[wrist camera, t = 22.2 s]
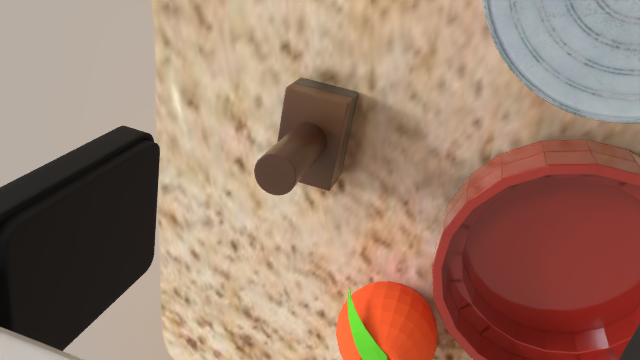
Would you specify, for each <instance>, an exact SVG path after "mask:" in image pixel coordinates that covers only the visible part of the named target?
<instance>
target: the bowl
mask: <svg viewBox="0 0 640 360" xmlns="http://www.w3.org/2000/svg"><path fill="white" fill-rule="evenodd" d="M432 275H433V291H434V301H435V303H436V306H437V308H438V310H439V312H440V315H441V317H442V319H443V322H444V324H445V326H446V328H447V331H448V332H449V333H450V334H451V336H452V337H453V338H454V339H455V340H456V341H457V342H458V343H459V345H460V346H461V347H462V348H463V349H464V350H465V351H466V352H467V354H468V355H469V356H470V357H471V358H473V360H619V358H620V357H621V355H622V353H623V351H624V350H625V348H626V346H627V344H628V343H629V341H630V339H631V337H632V336H633V334H634V332H635V331H636V329H637V327H638V325H639V324H640V157H639V156H637V155H636V154H634V153H632V152H631V151H628V150H625V149H621V148H617V147H613V146H609V145H605V144H601V143H597V142H594V141H590V140H558V141H540V142H537V143H533V144H530V145H527V146H524V147H521V148H518V149H515V150H512V151H508V152H505V153H502V155H499V156H498V157H496V158H495V159H493V160H492V161H490V162H489V163H487V164H486V165H485V166H483V167H482V168H480V169H479V170H477V171H476V172H474V173H473V174H471V175H470V176H469V177H468V178H467V179H466V181H465V182H464V183H463V185H462V186H461V187H460V189H459V190H458V191H457V193H456V194H455V195H454V196H453V198H452V199H451V200H450V202H449V203H448V205H447V208H446V211H445V214H444V218H443V221H442V224H441V227H440V230H439V234H438V238H437V243H436V249H435V253H434V258H433V263H432Z"/></svg>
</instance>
